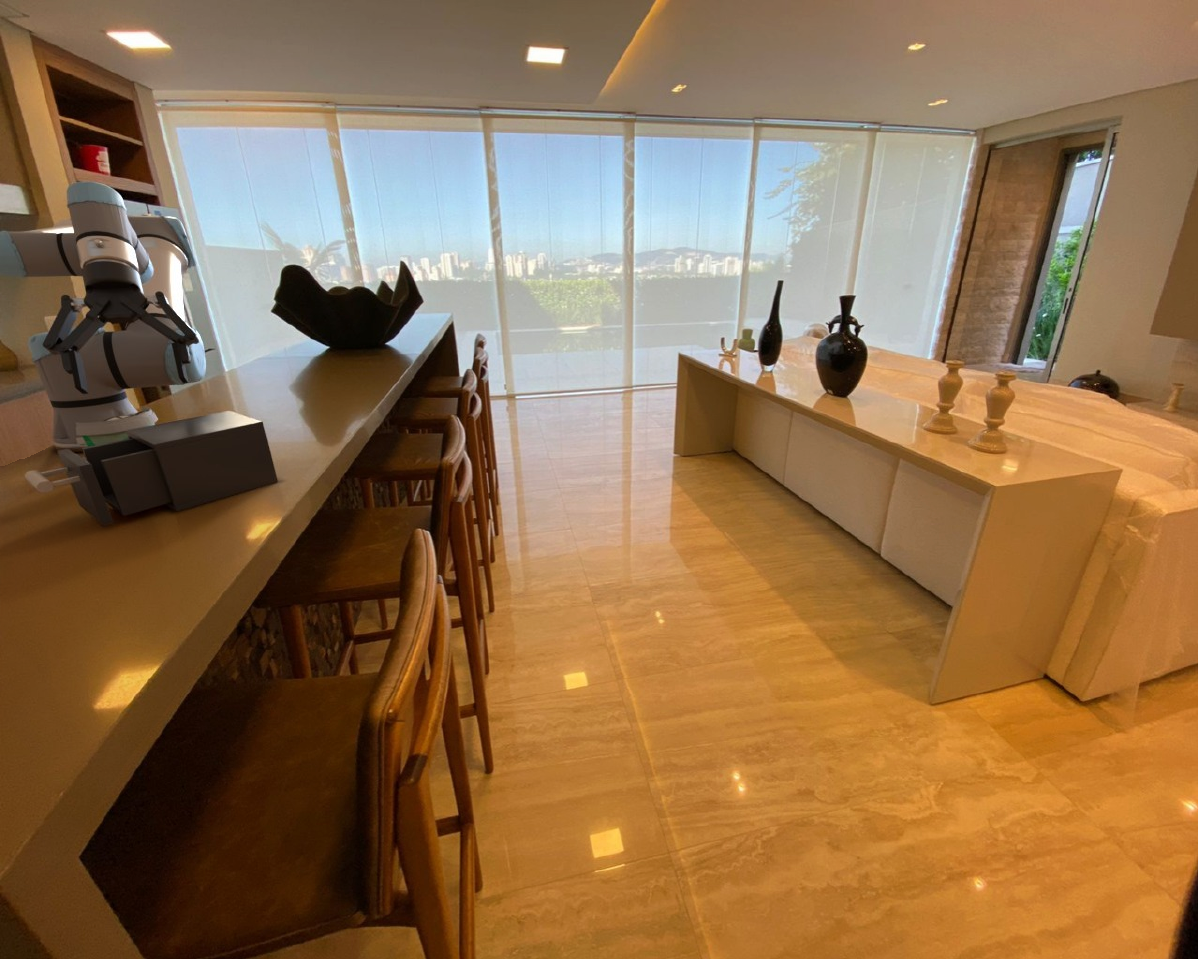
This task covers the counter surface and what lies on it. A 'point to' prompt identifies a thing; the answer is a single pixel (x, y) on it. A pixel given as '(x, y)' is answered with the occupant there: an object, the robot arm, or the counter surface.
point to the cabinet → (209, 456)
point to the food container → (114, 427)
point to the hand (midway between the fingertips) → (134, 385)
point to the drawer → (110, 478)
